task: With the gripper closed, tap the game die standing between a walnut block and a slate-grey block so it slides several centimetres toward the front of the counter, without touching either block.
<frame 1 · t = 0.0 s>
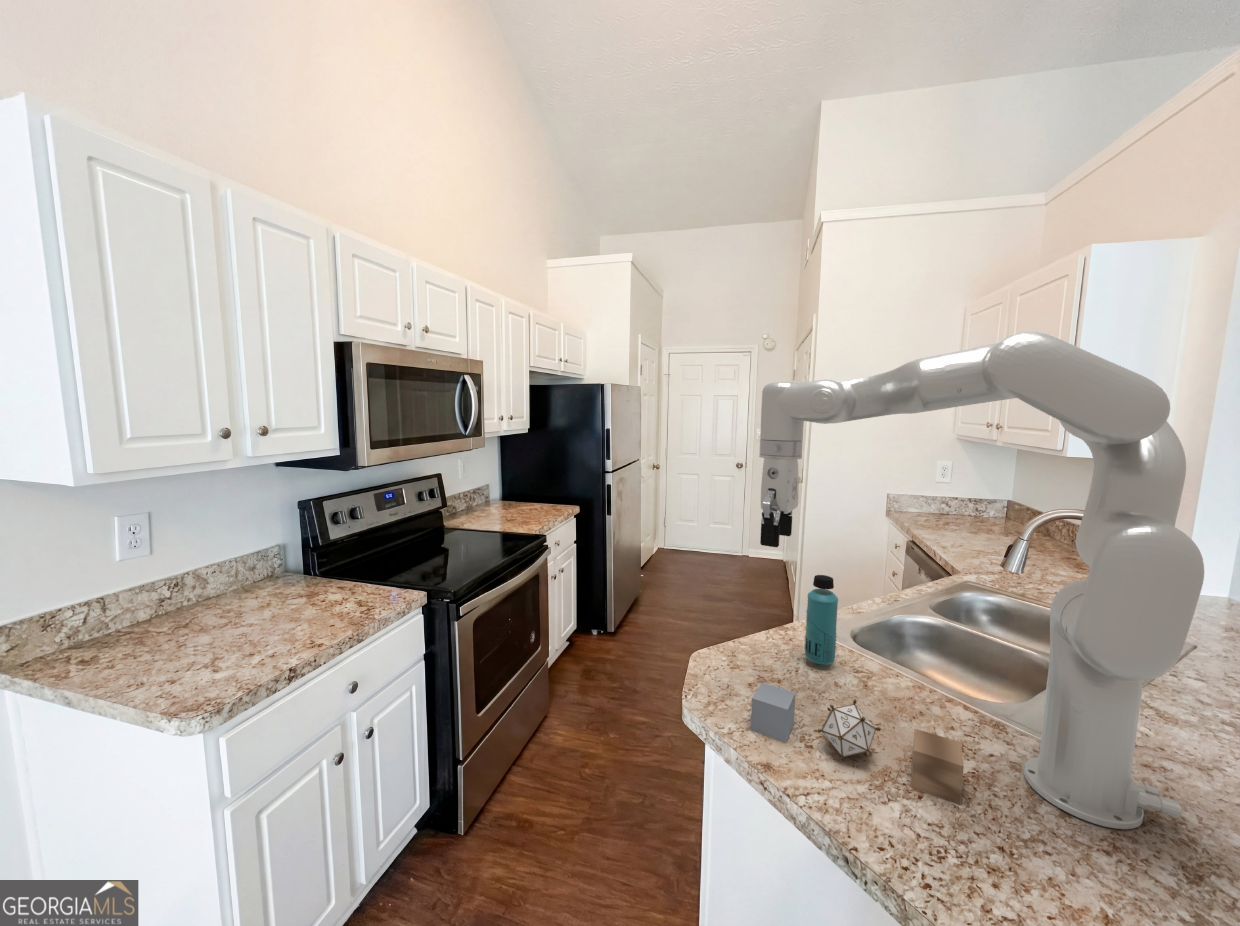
hand: (776, 540, 91), 31 cm above the countertop, tool pointing down, fingers open, 9 cm apart
beverage bottle: (818, 664, 107), on the countertop
walnut block: (934, 783, 72), on the countertop
slate block: (772, 727, 85), on the countertop
game die: (847, 754, 79), on the countertop
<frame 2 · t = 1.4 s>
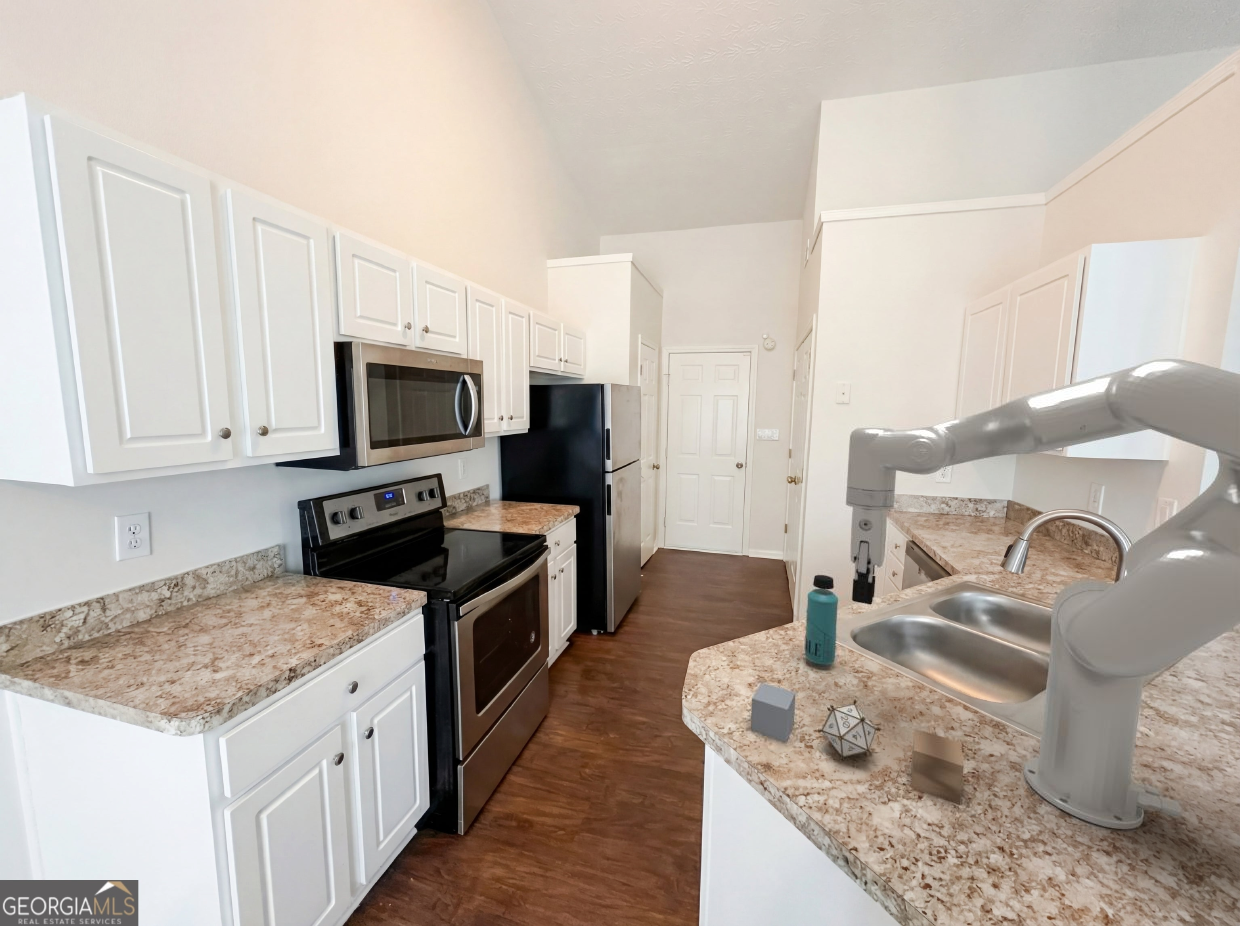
hand: (863, 598, 87), 22 cm above the countertop, tool pointing down, fingers open, 3 cm apart
nothing on the countertop moved.
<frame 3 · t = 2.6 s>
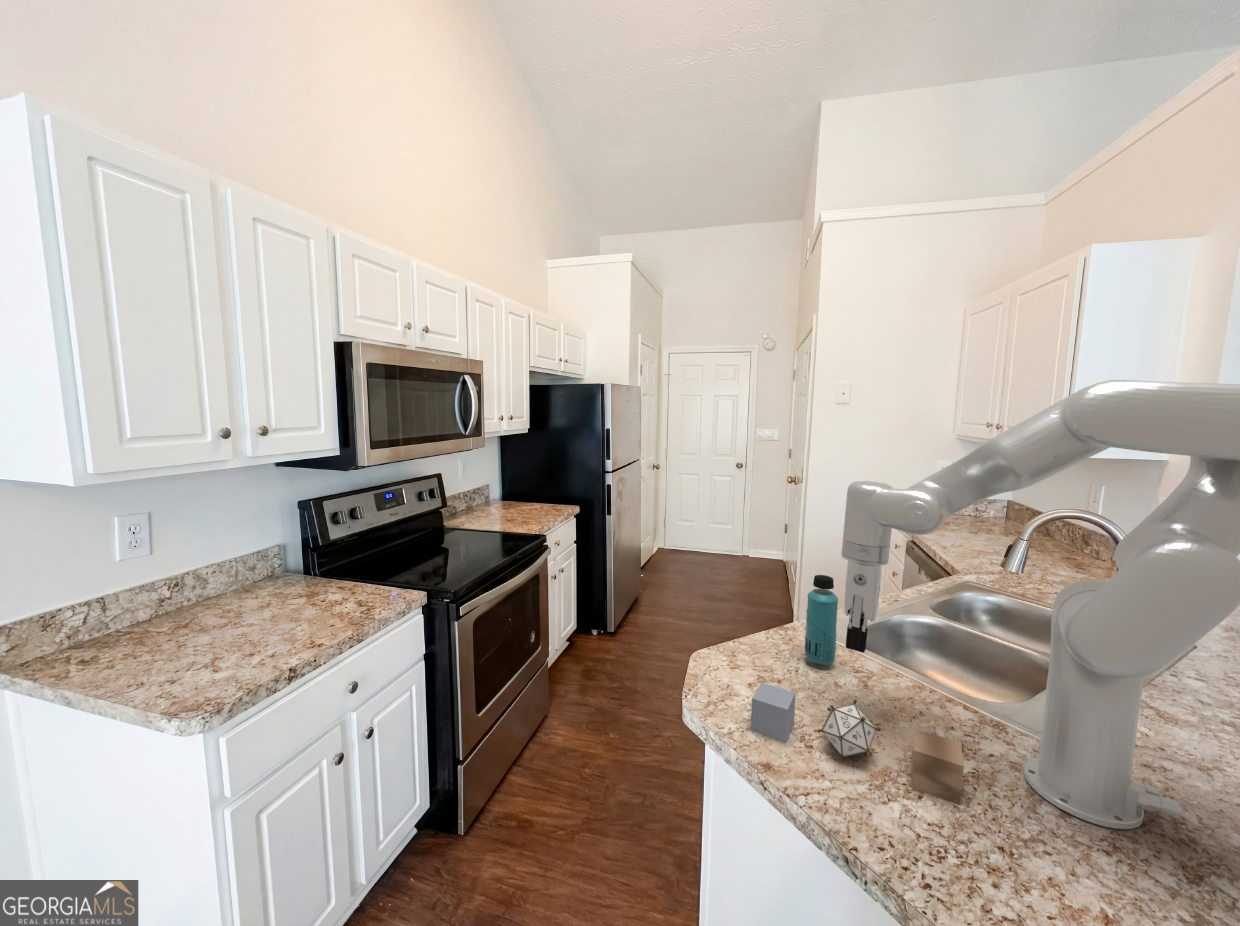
hand: (855, 648, 88), 13 cm above the countertop, tool pointing down, fingers closed
nothing on the countertop moved.
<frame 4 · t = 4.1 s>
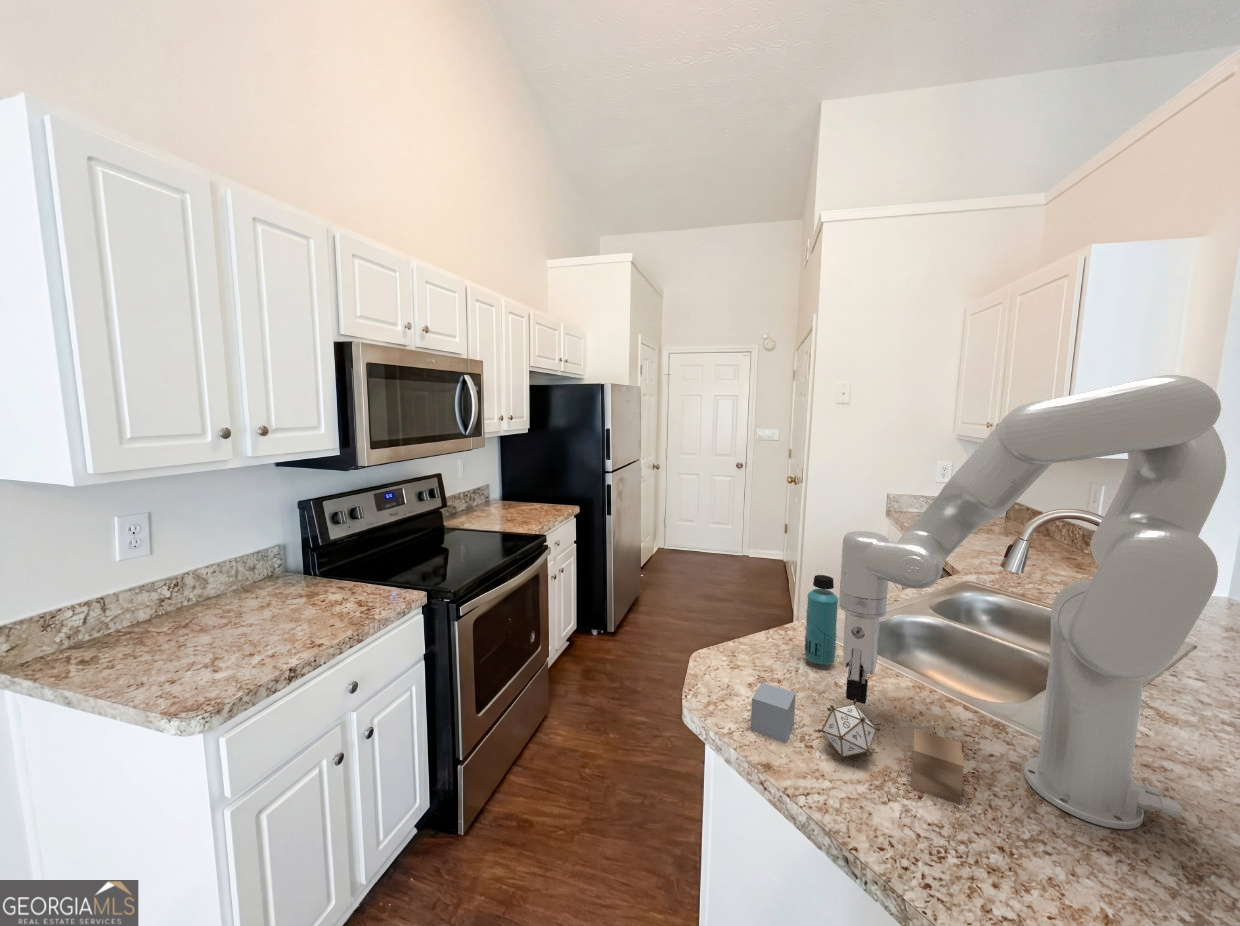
hand: (856, 699, 88), 4 cm above the countertop, tool pointing down, fingers closed
nothing on the countertop moved.
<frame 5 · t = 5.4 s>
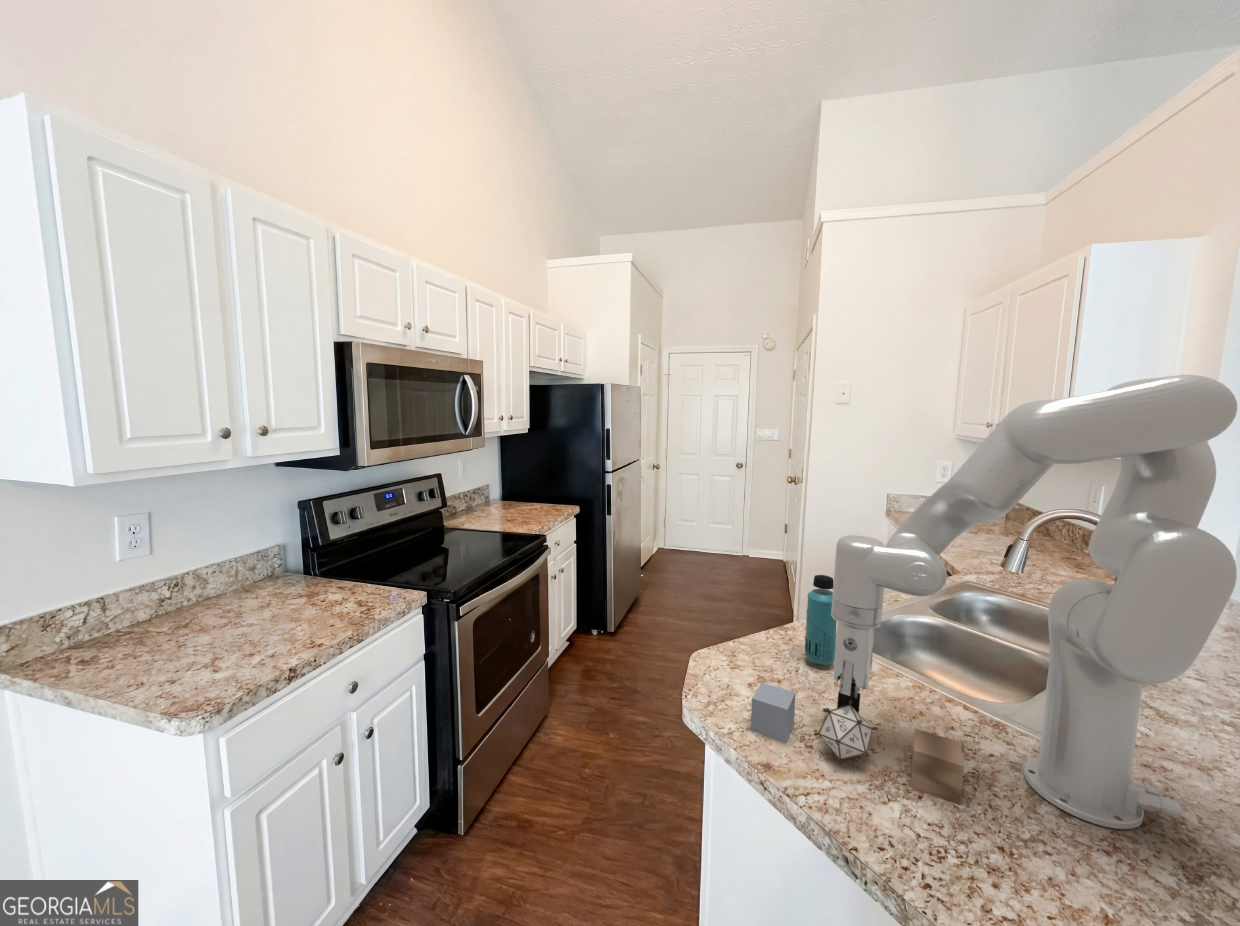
hand: (847, 714, 82), 4 cm above the countertop, tool pointing down, fingers closed
game die: (844, 754, 78), on the countertop, touching gripper
everything else where it was.
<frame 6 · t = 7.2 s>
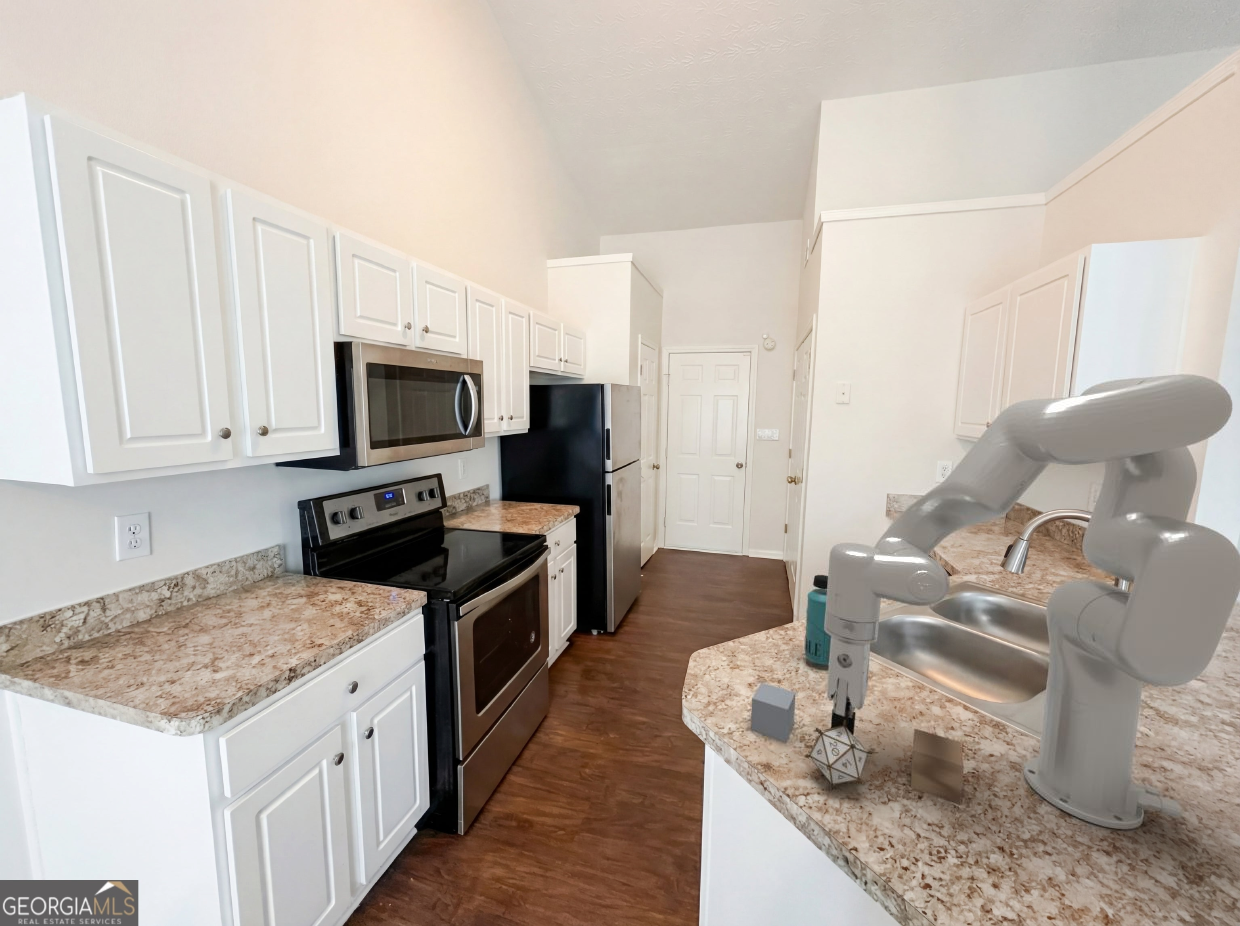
hand: (842, 734, 77), 4 cm above the countertop, tool pointing down, fingers closed
game die: (837, 778, 73), on the countertop, touching gripper
everything else where it was.
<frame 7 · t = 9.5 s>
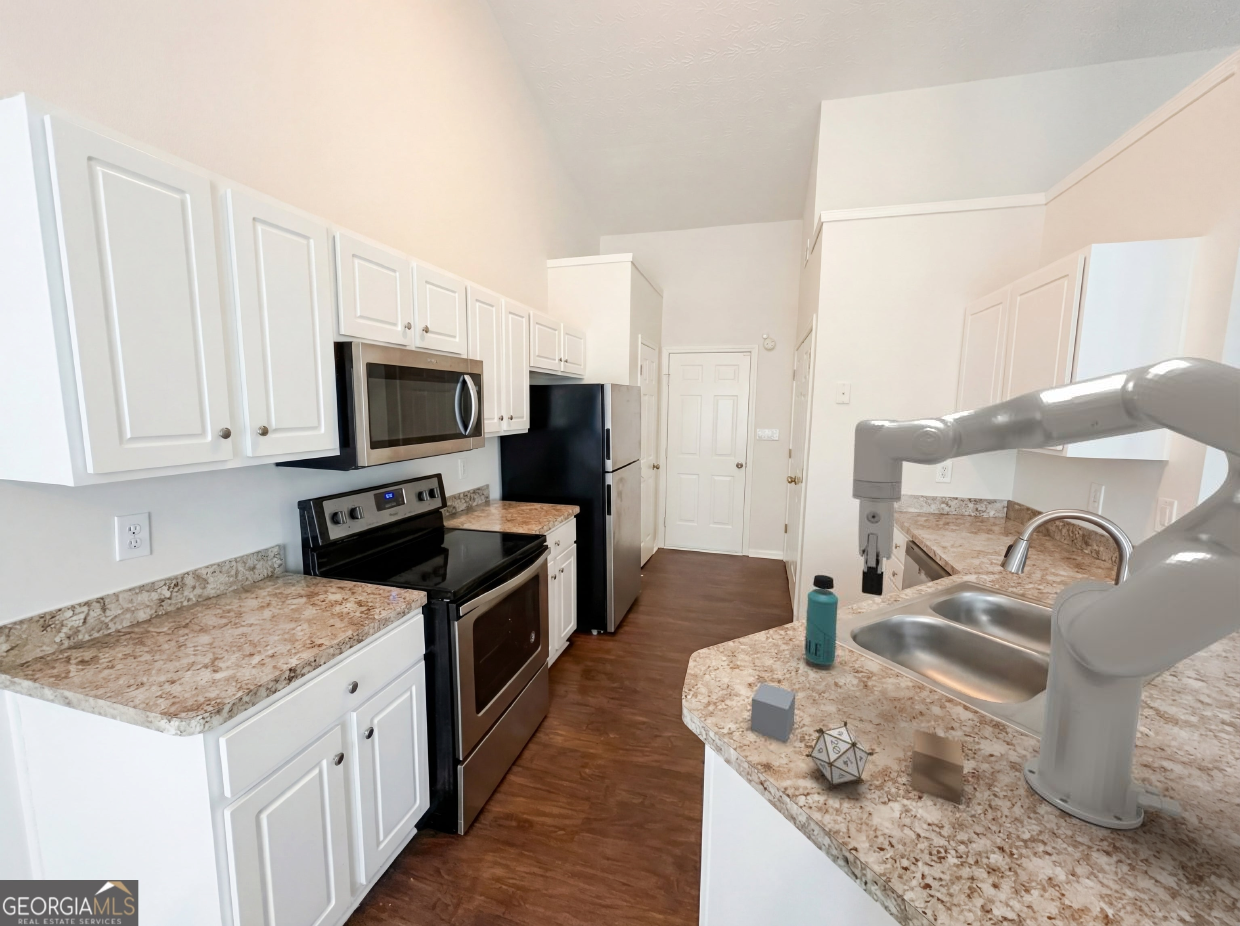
hand: (872, 592, 86), 24 cm above the countertop, tool pointing down, fingers closed
game die: (837, 780, 73), on the countertop
everything else where it was.
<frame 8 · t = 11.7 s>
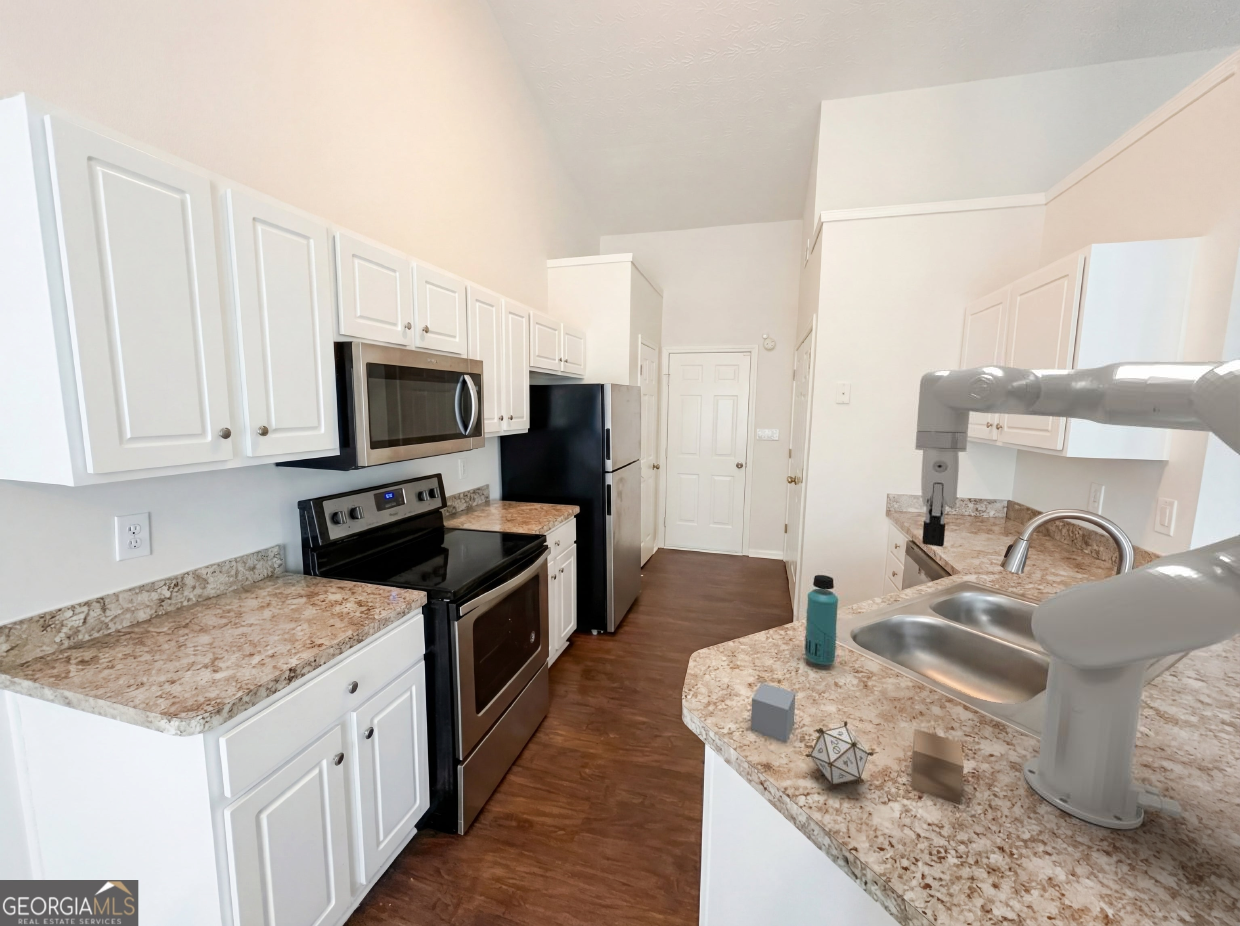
hand: (932, 544, 87), 32 cm above the countertop, tool pointing down, fingers closed
nothing on the countertop moved.
at the end: game die moved 7.2 cm from its start; walnut block moved 0.1 cm from its start; slate block moved 0.1 cm from its start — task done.
